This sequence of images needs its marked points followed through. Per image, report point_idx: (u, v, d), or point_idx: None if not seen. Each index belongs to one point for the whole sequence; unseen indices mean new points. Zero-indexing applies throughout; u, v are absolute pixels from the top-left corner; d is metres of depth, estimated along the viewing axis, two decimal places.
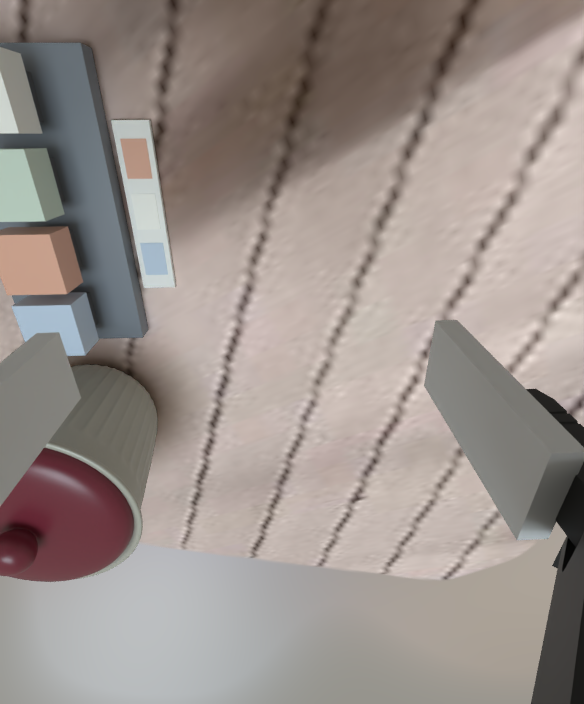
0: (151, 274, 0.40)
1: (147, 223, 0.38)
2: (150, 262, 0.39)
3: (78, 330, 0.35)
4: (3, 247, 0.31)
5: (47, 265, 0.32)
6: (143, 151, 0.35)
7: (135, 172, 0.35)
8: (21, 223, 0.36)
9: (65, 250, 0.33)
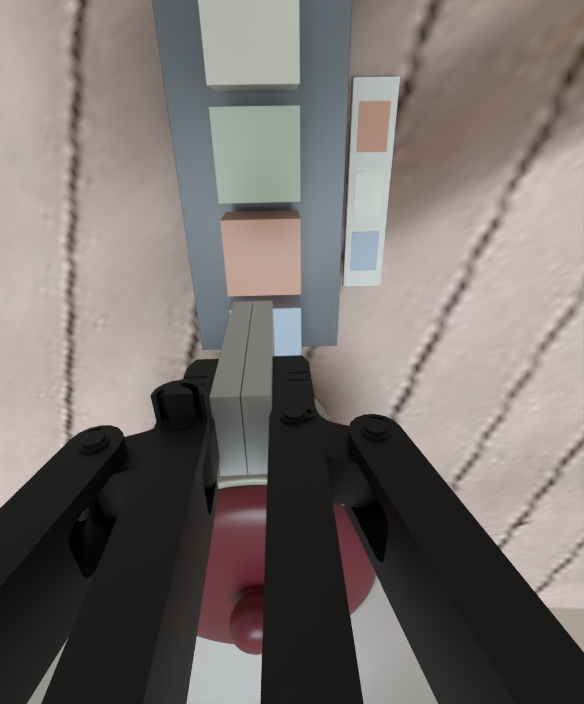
0: (356, 270, 0.33)
1: (366, 208, 0.31)
2: (357, 256, 0.33)
3: (300, 339, 0.29)
4: (239, 236, 0.25)
5: (286, 258, 0.26)
6: (384, 116, 0.28)
7: (368, 144, 0.29)
8: (225, 208, 0.29)
9: None
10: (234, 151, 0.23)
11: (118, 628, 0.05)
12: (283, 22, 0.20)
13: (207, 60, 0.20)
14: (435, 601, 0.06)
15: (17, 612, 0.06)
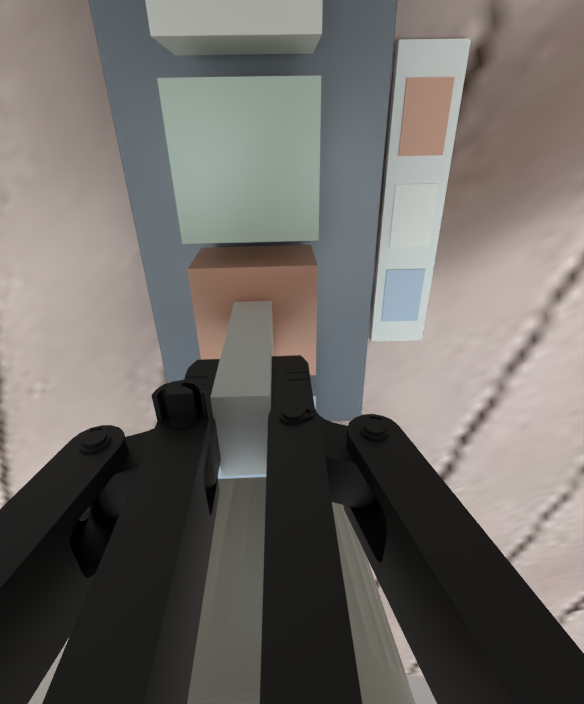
0: (390, 320, 0.24)
1: (408, 236, 0.21)
2: (393, 302, 0.23)
3: None
4: (218, 292, 0.15)
5: (294, 325, 0.16)
6: (443, 102, 0.18)
7: (416, 143, 0.19)
8: None
9: None
10: (206, 157, 0.13)
11: (119, 627, 0.05)
12: None
13: None
14: (433, 602, 0.06)
15: (18, 612, 0.06)
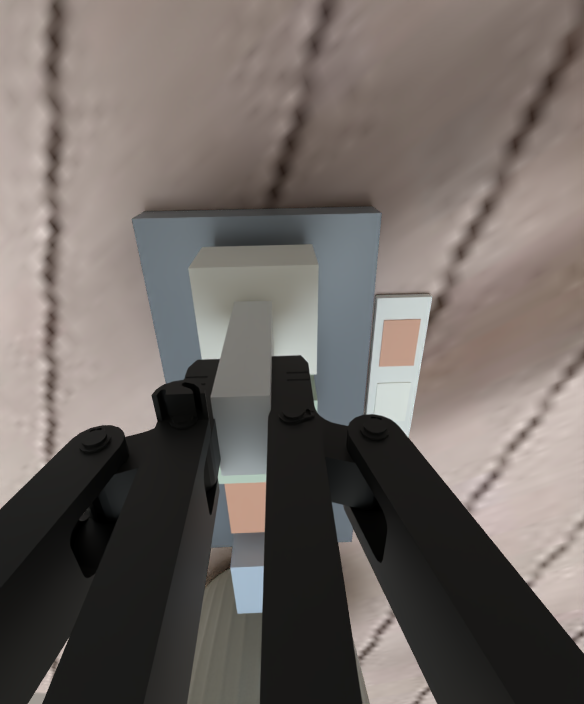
0: None
1: (388, 414, 0.27)
2: None
3: None
4: (244, 486, 0.22)
5: None
6: (413, 334, 0.24)
7: (392, 359, 0.25)
8: None
9: None
10: None
11: (119, 628, 0.05)
12: (297, 322, 0.16)
13: (205, 357, 0.17)
14: (433, 602, 0.06)
15: (18, 612, 0.06)
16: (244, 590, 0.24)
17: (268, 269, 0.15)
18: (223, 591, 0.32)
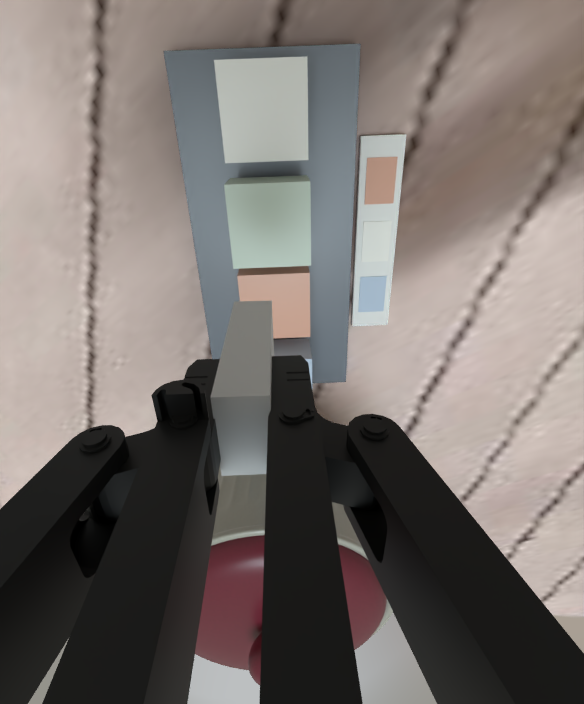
0: (364, 311, 0.34)
1: (374, 255, 0.32)
2: (365, 298, 0.34)
3: None
4: (254, 288, 0.27)
5: (297, 307, 0.28)
6: (391, 171, 0.29)
7: (375, 196, 0.30)
8: None
9: None
10: (248, 223, 0.24)
11: (119, 628, 0.05)
12: (293, 110, 0.22)
13: (225, 143, 0.23)
14: (433, 601, 0.06)
15: (18, 612, 0.06)
16: None
17: (271, 61, 0.21)
18: None
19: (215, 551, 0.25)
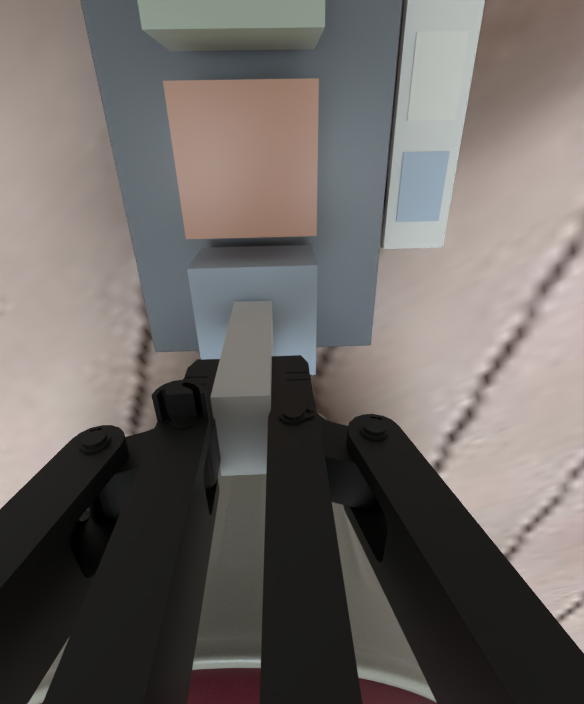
0: (406, 220, 0.20)
1: (430, 106, 0.18)
2: (410, 196, 0.20)
3: (315, 322, 0.16)
4: (201, 115, 0.13)
5: (292, 165, 0.14)
6: None
7: None
8: None
9: None
10: None
11: (120, 627, 0.05)
12: None
13: None
14: (433, 602, 0.06)
15: (18, 612, 0.06)
16: (211, 325, 0.16)
17: None
18: None
19: None
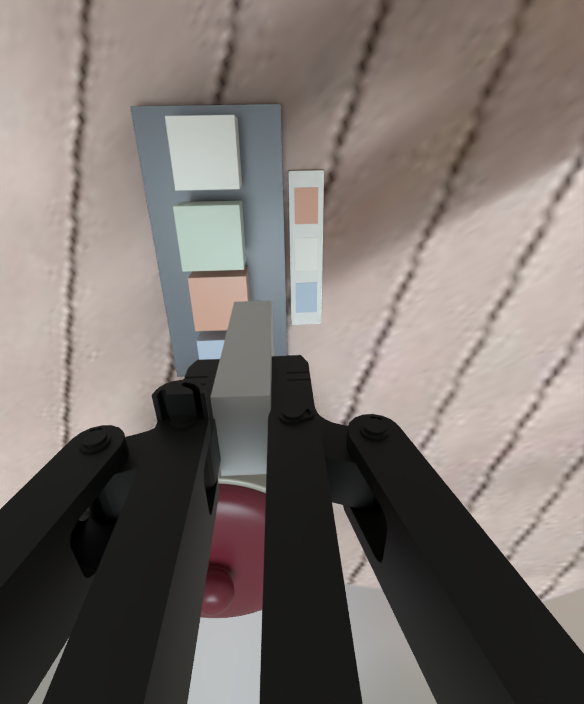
0: (301, 312, 0.41)
1: (305, 265, 0.39)
2: (301, 301, 0.41)
3: None
4: (201, 288, 0.34)
5: None
6: (314, 198, 0.36)
7: (303, 218, 0.37)
8: None
9: (248, 289, 0.36)
10: (192, 235, 0.31)
11: (119, 628, 0.05)
12: (226, 152, 0.30)
13: (175, 175, 0.30)
14: (433, 602, 0.06)
15: (18, 612, 0.06)
16: None
17: (207, 117, 0.28)
18: None
19: None
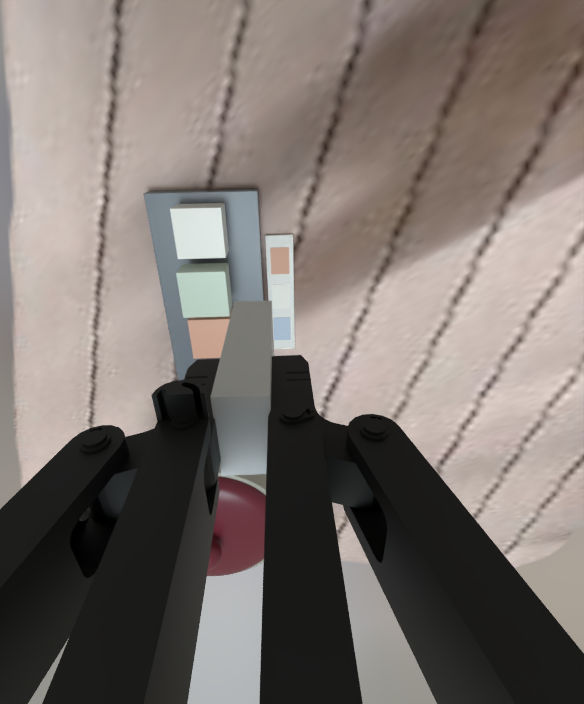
0: (278, 339, 0.52)
1: (280, 304, 0.50)
2: (278, 331, 0.51)
3: None
4: (198, 327, 0.45)
5: None
6: (286, 255, 0.47)
7: (277, 269, 0.47)
8: None
9: None
10: (190, 292, 0.41)
11: (119, 627, 0.05)
12: (215, 233, 0.40)
13: (177, 248, 0.40)
14: (433, 601, 0.06)
15: (18, 612, 0.06)
16: None
17: (201, 209, 0.39)
18: None
19: None
